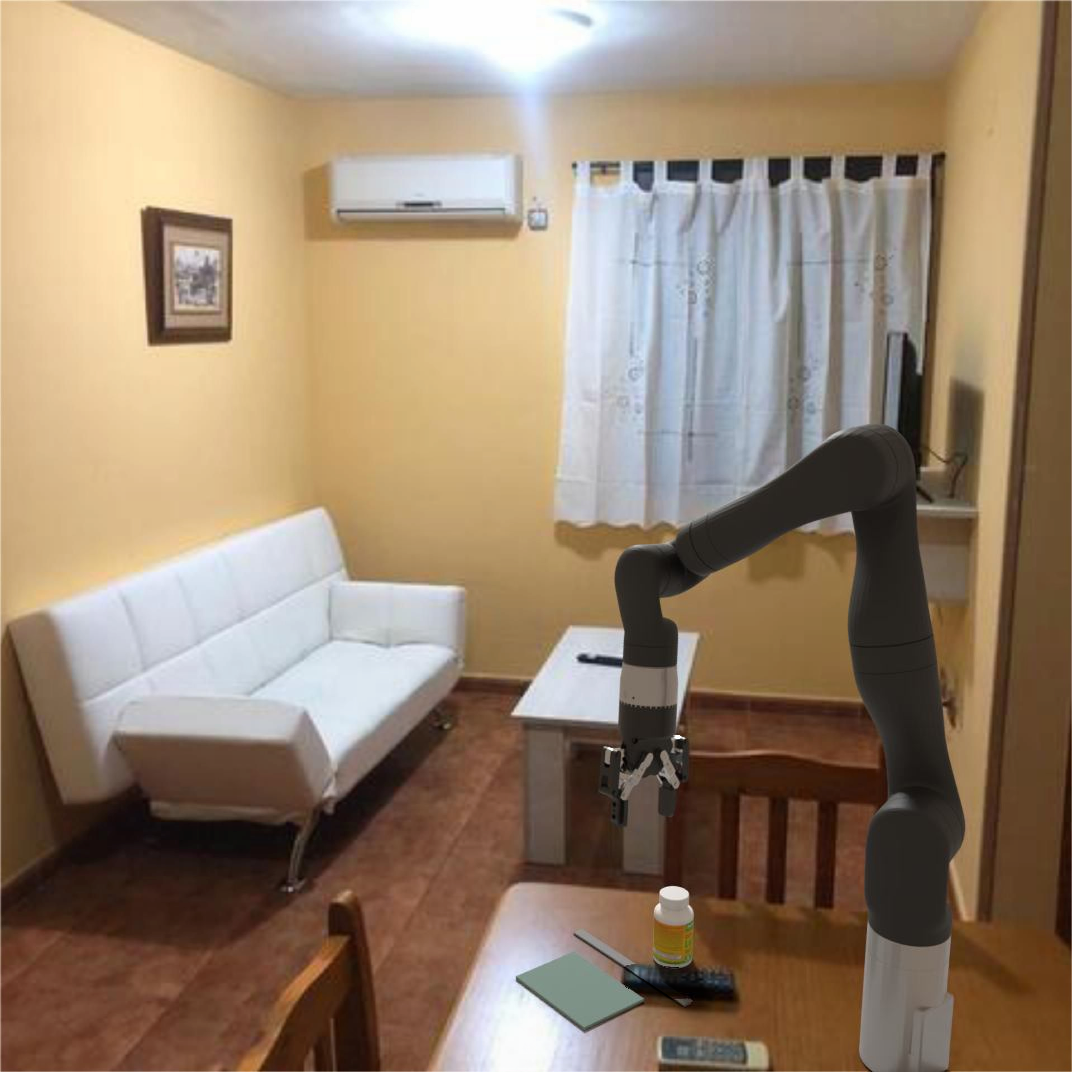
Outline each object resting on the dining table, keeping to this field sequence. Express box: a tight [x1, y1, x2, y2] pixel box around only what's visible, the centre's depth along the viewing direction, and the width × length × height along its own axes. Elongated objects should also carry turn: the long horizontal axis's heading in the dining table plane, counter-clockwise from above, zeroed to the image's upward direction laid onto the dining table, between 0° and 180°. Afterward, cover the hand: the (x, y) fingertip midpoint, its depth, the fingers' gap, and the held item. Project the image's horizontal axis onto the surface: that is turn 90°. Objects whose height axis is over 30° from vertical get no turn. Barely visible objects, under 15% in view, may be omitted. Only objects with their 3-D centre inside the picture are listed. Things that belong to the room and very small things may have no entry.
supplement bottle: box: [652, 885, 695, 969], centre depth 158 cm, size 5×5×10 cm
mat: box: [515, 951, 645, 1031], centre depth 151 cm, size 14×10×1 cm
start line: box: [573, 928, 693, 1008], centre depth 156 cm, size 22×2×1 cm, turn 38°
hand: (642, 820), depth 151 cm, fingers open, 8 cm apart
